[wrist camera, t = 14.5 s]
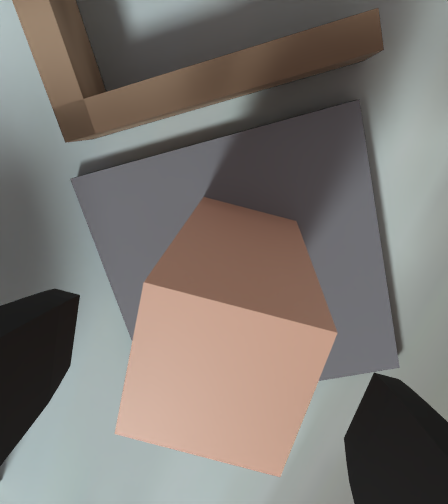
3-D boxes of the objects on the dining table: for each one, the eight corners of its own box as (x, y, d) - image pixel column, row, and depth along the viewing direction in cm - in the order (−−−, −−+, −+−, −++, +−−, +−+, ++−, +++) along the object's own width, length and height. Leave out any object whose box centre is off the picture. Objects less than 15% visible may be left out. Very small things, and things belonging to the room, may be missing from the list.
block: (203, 196, 16) (143, 282, 8) (296, 221, 16) (337, 332, 8) (184, 281, 18) (114, 433, 9) (269, 304, 18) (280, 477, 9)
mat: (76, 176, 17) (70, 178, 16) (355, 100, 15) (359, 99, 15) (160, 399, 21) (157, 407, 20) (395, 359, 19) (399, 367, 18)
